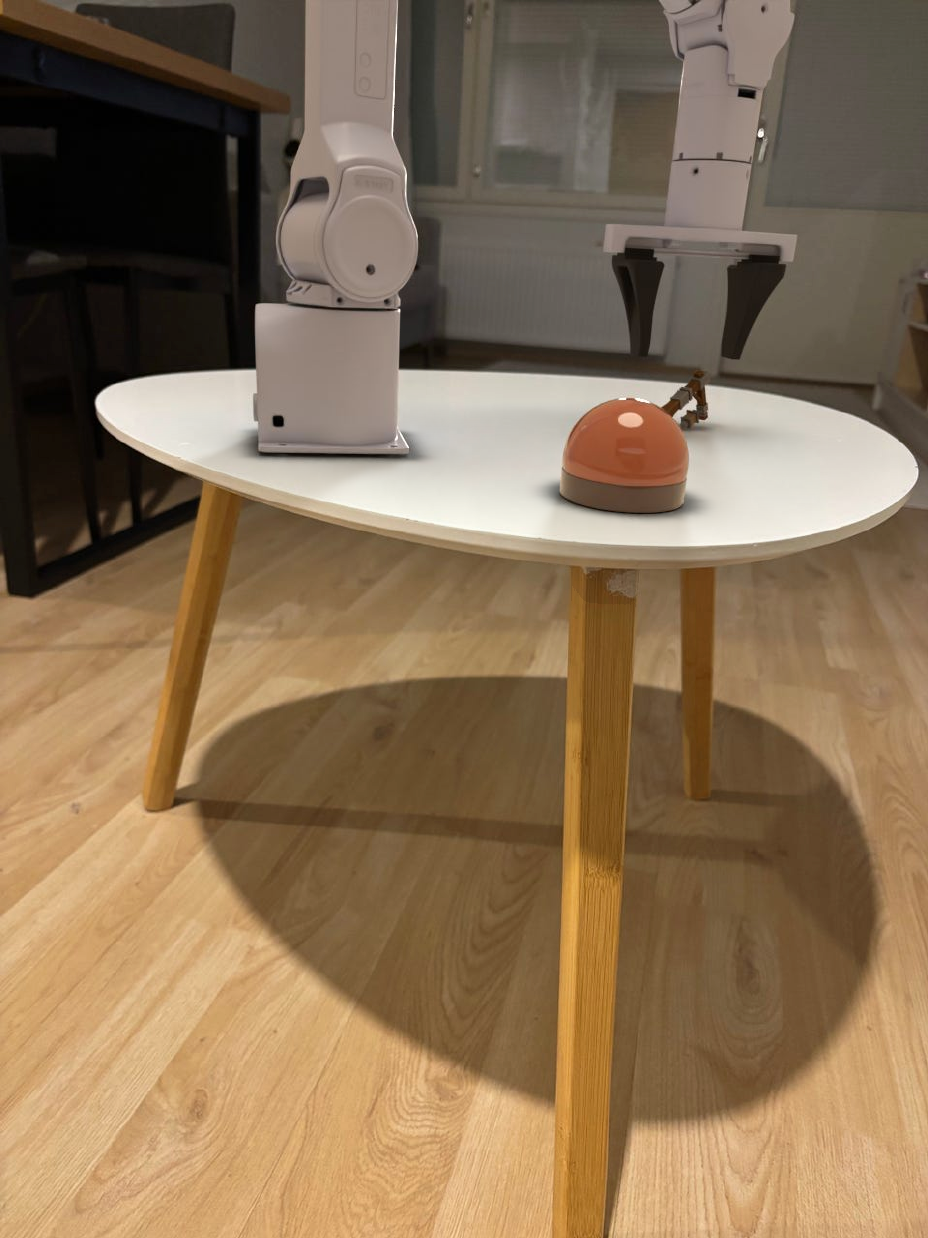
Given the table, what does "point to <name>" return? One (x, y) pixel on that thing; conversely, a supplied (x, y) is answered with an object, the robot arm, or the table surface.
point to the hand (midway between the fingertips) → (684, 356)
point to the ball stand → (626, 459)
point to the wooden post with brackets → (685, 395)
